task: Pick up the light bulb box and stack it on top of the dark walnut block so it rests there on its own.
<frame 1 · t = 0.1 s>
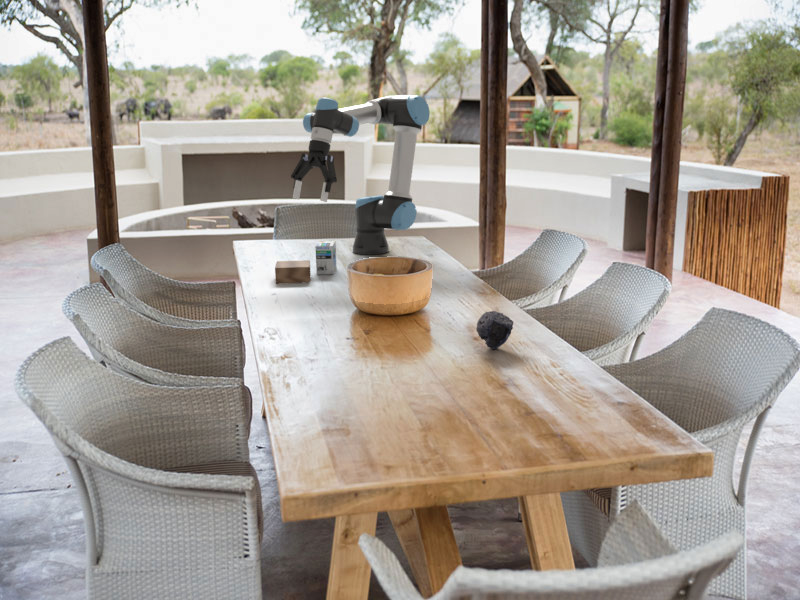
hand: (309, 200, 298), 28 cm above the table, tool tilted 20°, fingers open, 13 cm apart
light bulb box: (326, 272, 312), on the table
walnut block: (293, 280, 299), on the table
pumice stone: (495, 350, 215), on the table
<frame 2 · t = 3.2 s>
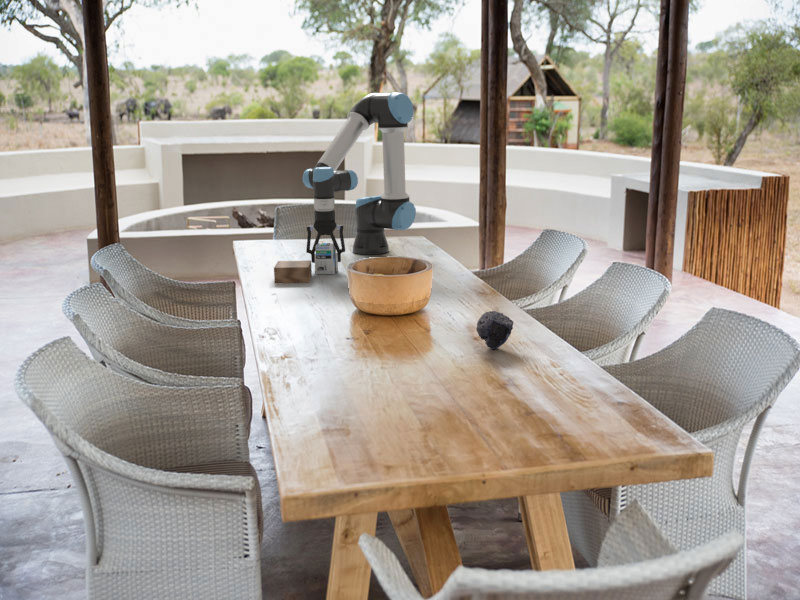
hand: (326, 270, 311), 0 cm above the table, tool pointing down, fingers open, 7 cm apart
light bulb box: (326, 272, 312), on the table, touching gripper
everything else where it was.
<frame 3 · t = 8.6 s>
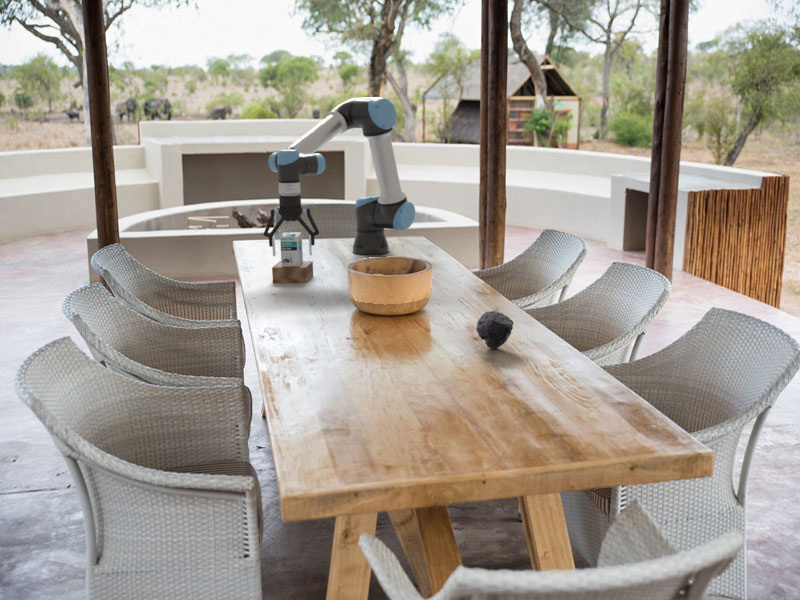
hand: (292, 255, 297), 9 cm above the table, tool pointing down, fingers open, 12 cm apart
light bulb box: (292, 264, 298), point 5 cm above the table
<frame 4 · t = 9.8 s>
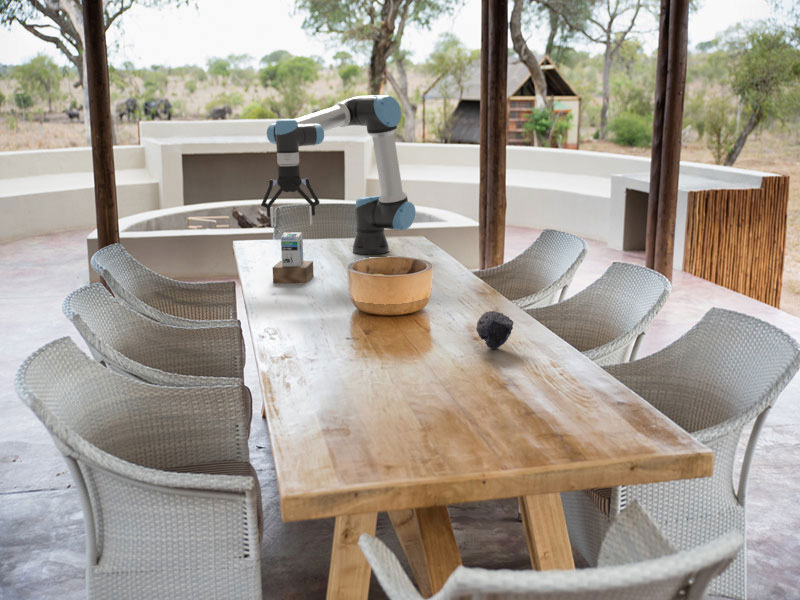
hand: (291, 225, 294), 19 cm above the table, tool pointing down, fingers open, 13 cm apart
light bulb box: (292, 264, 298), point 5 cm above the table, touching walnut block
walnut block: (293, 280, 299), on the table, touching light bulb box
everything else where it was.
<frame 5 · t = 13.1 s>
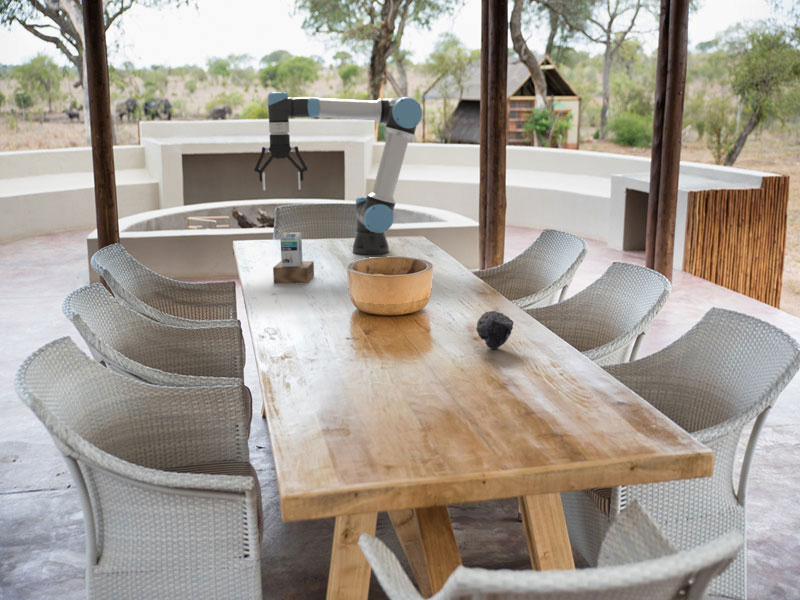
hand: (282, 189, 322), 29 cm above the table, tool pointing down, fingers open, 13 cm apart
light bulb box: (292, 264, 298), point 5 cm above the table
walnut block: (294, 280, 299), on the table
everything else where it was.
at the end: light bulb box 0.5 cm from the walnut block (horizontally); light bulb box point 5.4 cm above the table; the gripper is holding nothing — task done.
